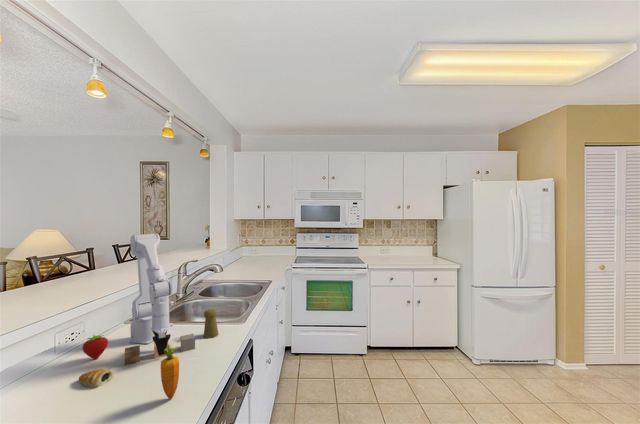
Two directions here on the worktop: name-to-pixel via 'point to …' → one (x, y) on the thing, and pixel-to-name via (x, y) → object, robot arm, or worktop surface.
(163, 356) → the terracotta cube
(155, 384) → the worktop surface
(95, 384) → the pastry
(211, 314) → the pepper mill
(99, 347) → the strawberry
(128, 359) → the walnut cube
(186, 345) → the gray cube
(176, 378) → the carrot
